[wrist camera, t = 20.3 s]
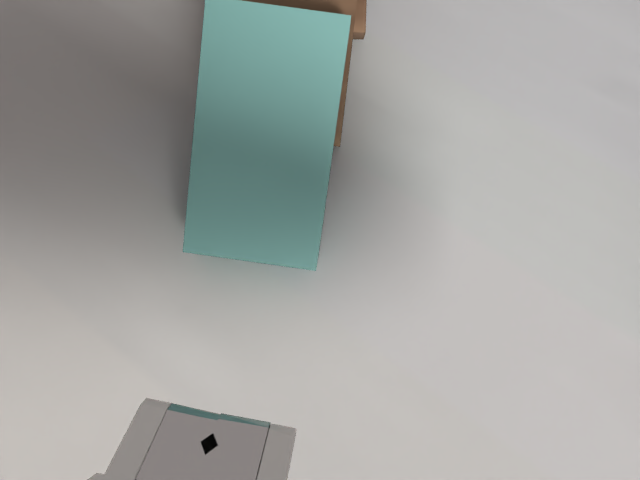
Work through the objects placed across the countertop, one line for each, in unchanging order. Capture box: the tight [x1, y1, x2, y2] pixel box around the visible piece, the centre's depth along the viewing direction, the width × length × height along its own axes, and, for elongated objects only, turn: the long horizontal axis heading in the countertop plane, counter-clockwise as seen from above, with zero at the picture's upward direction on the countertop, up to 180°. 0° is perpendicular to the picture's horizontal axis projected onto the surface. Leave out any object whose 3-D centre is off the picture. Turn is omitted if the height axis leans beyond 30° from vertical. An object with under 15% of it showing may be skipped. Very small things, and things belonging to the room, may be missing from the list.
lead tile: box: [183, 0, 351, 271], centre depth 20 cm, size 2×5×9 cm
